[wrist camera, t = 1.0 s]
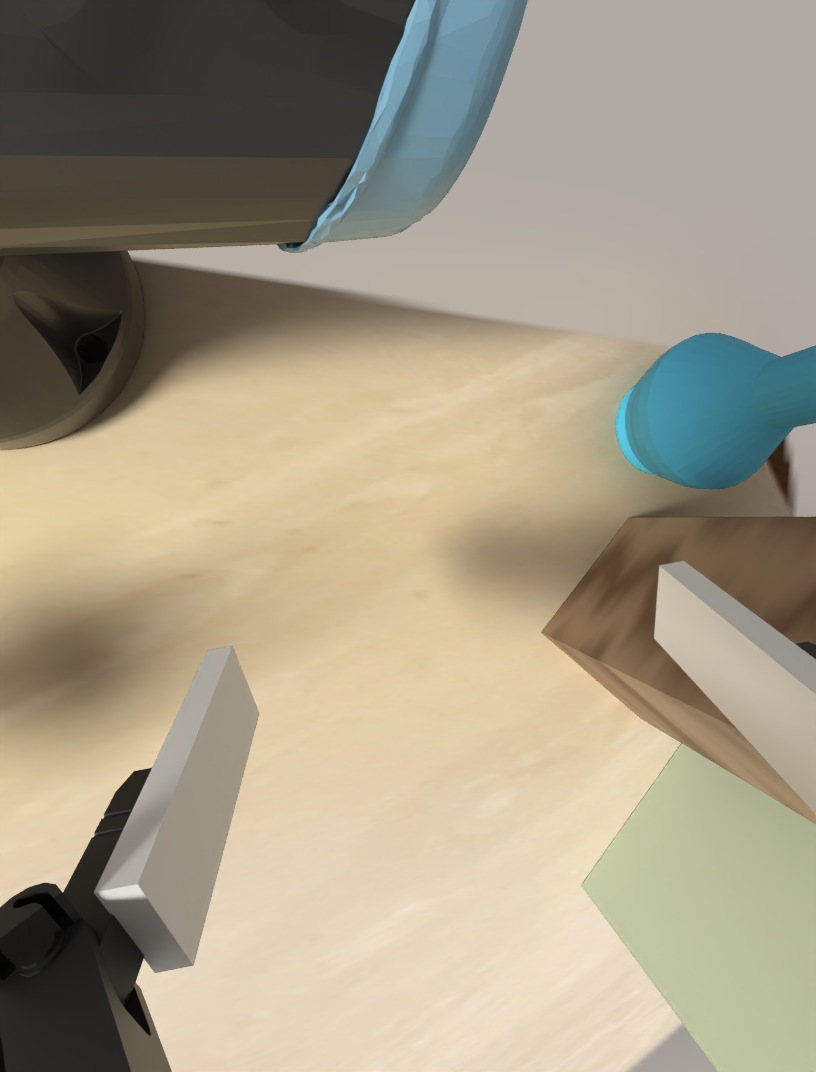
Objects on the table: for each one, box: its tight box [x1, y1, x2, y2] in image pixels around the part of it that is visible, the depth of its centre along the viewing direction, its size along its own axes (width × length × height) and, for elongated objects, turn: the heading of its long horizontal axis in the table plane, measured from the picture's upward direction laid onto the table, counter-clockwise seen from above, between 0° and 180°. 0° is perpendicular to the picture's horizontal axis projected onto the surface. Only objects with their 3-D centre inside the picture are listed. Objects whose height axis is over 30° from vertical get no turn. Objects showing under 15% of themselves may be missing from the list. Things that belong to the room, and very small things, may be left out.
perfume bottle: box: [616, 333, 816, 489], centre depth 25 cm, size 9×9×15 cm
